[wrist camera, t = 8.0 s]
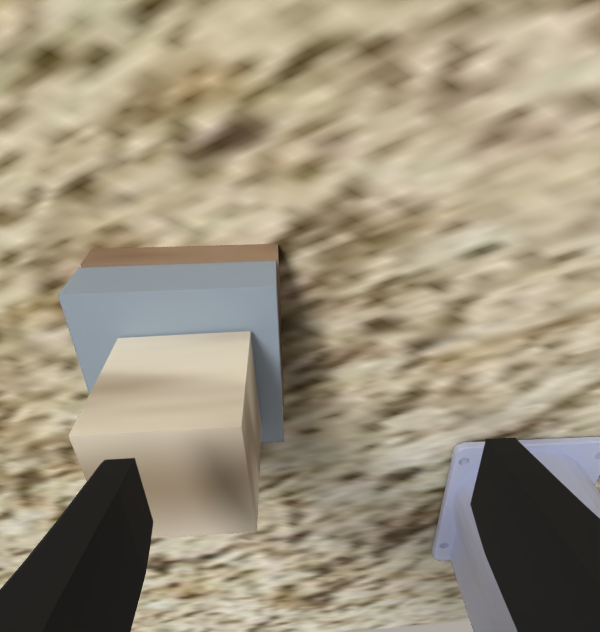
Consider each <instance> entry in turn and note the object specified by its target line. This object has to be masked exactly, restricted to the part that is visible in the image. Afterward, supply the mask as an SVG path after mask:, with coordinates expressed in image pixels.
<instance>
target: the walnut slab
mask: <svg viewBox="0 0 600 632" xmlns="http://www.w3.org/2000/svg"><path fill="white" fill-rule="evenodd" d="M258 261H276V275H277V296H278V316H279V337H280V358H281V379H282V400H283V368H282V341H281V313H280V285H279V257H278V244H257V245H220V246H183V247H147V248H110V249H92V250H91V252H90V253H89V254H88V255H87V257H86V258H85V259H84V260H83V262H82V263H81V267H82V268H88V267H116V266H145V265H173V264H201V263H230V262H258ZM283 406H284V402H283Z"/></svg>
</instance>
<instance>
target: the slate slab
mask: <svg viewBox="0 0 600 632" xmlns="http://www.w3.org/2000/svg"><path fill="white" fill-rule="evenodd" d="M58 296H59V300H60V303H61V306H62V309H63V312H64V316H65V319H66V322H67V325H68V328H69V331H70V335H71V338H72V341H73V344H74V347H75V351H76V354H77V357H78V360H79V363H80V366H81V370H82V373H83V376H84V379H85V382H86V386H87V389H88V392H89V394H90V392H91V390H92V388H93V386H94V384H95V383H96V381H97V379H98V377H99V375H100V373H101V371H102V369H103V367H104V365H105V363H106V361H107V359H108V357H109V355H110V353H111V351H112V349H113V347H114V345H115V343H116V341H117V339H118V338H129V337H147V336H166V335H185V334H204V333H223V332H241V331H251V339H252V348H253V357H254V366H255V374H256V383H257V392H258V400H259V409H260V418H261V426H262V430H261V443H266V442H284V433H283V400H282V379H281V358H280V337H279V316H278V296H277V275H276V261H258V262H230V263H201V264H173V265H145V266H116V267H88V268H79V269H78V270H77V271H76V272H75V274H74V275H73V276H72V277H71V279H70V280H69V281H68V282H67V284H66V285H65V286H64V287H63V289H62V290H61V291H60V292H59V294H58Z"/></svg>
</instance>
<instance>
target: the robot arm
mask: <svg viewBox="0 0 600 632" xmlns="http://www.w3.org/2000/svg"><path fill="white" fill-rule="evenodd" d="M463 458H464V459H463ZM599 475H600V437H577V438H554V439H531V440H517V439H516V438H501V439H486V441H485V442H464V443H460V444H458V445H457V446H456V447H455V448H454V450H453V455H452V459H451V464H450V469H449V473H448V478H447V482H446V487H445V492H444V496H443V501H442V506H441V510H440V515H439V519H438V524H437V529H436V533H435V538H434V543H433V547H432V555H433V558H434V559H436V560H440V561H441V560H450V561H451V564H452V567H453V570H454V573H455V576H456V579H457V582H458V585H459V588H460V591H461V594H462V597H463V600H464V603H465V607H466V610H467V613H468V616H469V619H470V622H471V625H472V628H473V631H474V632H600V492H599V490H598V489H597V487H596V486H595V484H596V482H597V479H598V477H599ZM152 529H153V518H152V515H151V512H150V508H149V505H148V501H147V498H146V495H145V491H144V488H143V484H142V481H141V477H140V474H139V471H138V467H137V464H136V460H135V458H126V459H107V460H104V461H103V462H102V463H101V464H100V465H99V466H98V468H97V469H96V470H95V472H94V473H93V474H92V476H91V477H90V478H89V480H88V481H87V482H86V484H85V485H84V486H83V488H82V489H81V490H80V492H79V493H78V494H77V496H76V497H75V498H74V499H73V501H72V502H71V503H70V505H69V506H68V507H67V509H66V510H65V511H64V512H63V514H62V515H61V516H60V518H59V519H58V520H57V521H56V523H55V524H54V525H53V527H52V528H51V529H50V530H49V532H48V533H47V534H46V535H45V536H44V538H43V539H42V540H41V541H40V543H39V544H38V545H37V546H36V548H35V549H34V550H33V551H32V553H31V554H30V555H29V556H28V558H27V559H26V560H25V561H24V562H23V564H22V565H21V566H20V567H19V568H18V570H17V571H16V572H15V573H14V574H13V575H12V577H11V578H10V579H9V580H8V581H7V582H6V583H5V585H4V586H3V587H2V588H1V589H0V632H130V631H131V627H132V623H133V620H134V616H135V612H136V608H137V605H138V601H139V597H140V593H141V589H142V586H143V582H144V578H145V574H146V568H147V562H148V556H149V550H150V543H151V536H152Z"/></svg>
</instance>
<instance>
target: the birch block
mask: <svg viewBox="0 0 600 632" xmlns="http://www.w3.org/2000/svg"><path fill="white" fill-rule="evenodd" d="M261 430H262V426H261V418H260V409H259V400H258V392H257V383H256V374H255V366H254V357H253V348H252V339H251V331H241V332H223V333H204V334H185V335H166V336H147V337H129V338H118V339H117V341H116V343H115V345H114V347H113V349H112V351H111V353H110V355H109V357H108V359H107V361H106V363H105V365H104V367H103V369H102V371H101V373H100V375H99V377H98V379H97V381H96V383H95V384H94V386H93V388H92V390H91V392H90V394H89V396H88V398H87V400H86V402H85V404H84V406H83V408H82V410H81V412H80V414H79V416H78V418H77V420H76V422H75V424H74V426H73V428H72V430H71V432H70V434H69V438H70V441H71V443H72V446H73V448H74V451H75V453H76V456H77V458H78V460H79V463H80V465H81V468H82V470H83V473H84V475H85V477H86V480H87V481H88V480H89V478H90V477H91V476H92V474H93V473H94V472H95V470H96V469H97V468H98V466H99V465H100V464H101V463H102V462H103V461H104V460H107V459H126V458H135V460H136V464H137V467H138V471H139V474H140V477H141V481H142V484H143V488H144V491H145V495H146V498H147V501H148V505H149V508H150V512H151V515H152V518H153V529H152V536H151V538H162V537H180V536H198V535H216V534H234V533H252V532H257V515H258V494H259V472H260V451H261Z"/></svg>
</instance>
